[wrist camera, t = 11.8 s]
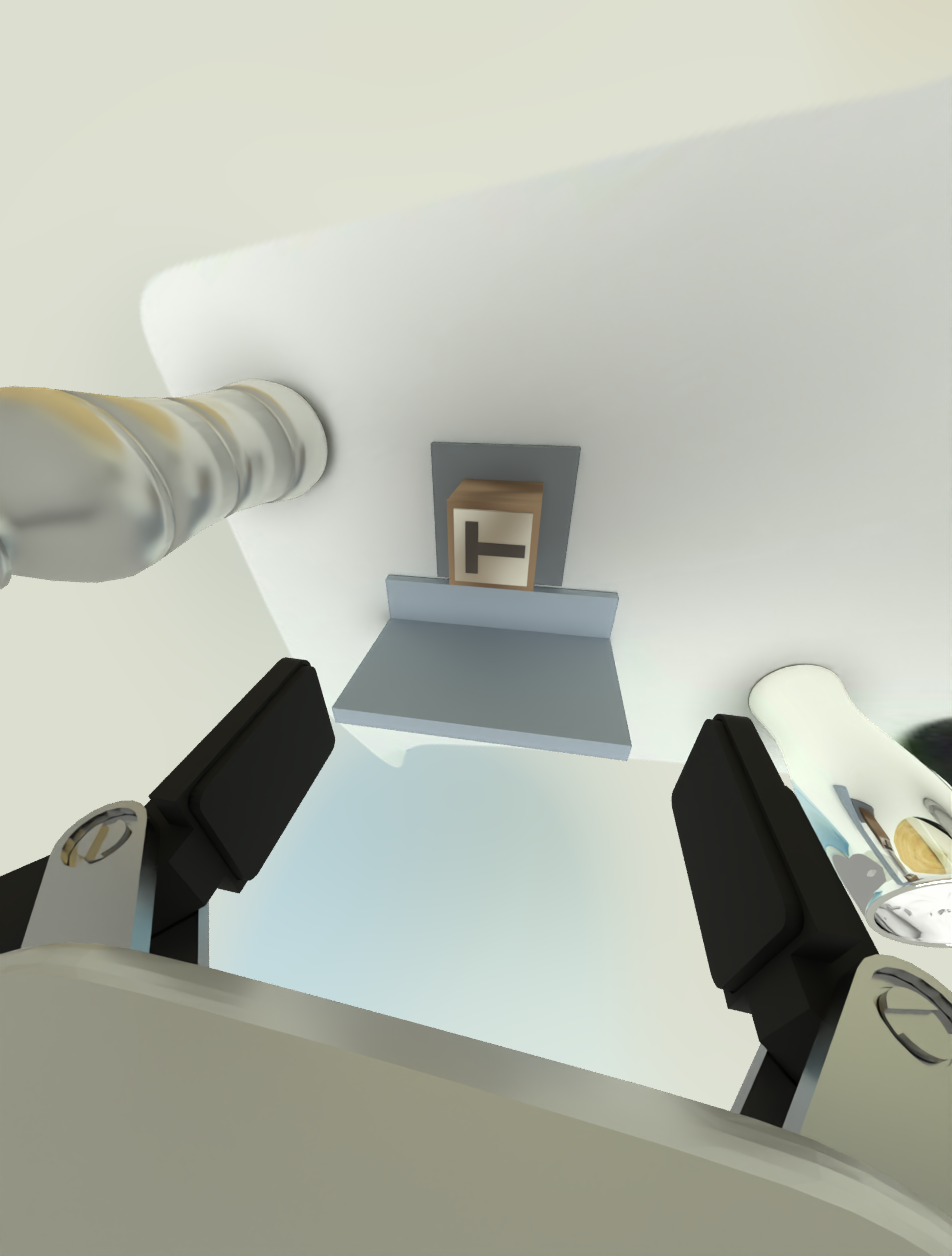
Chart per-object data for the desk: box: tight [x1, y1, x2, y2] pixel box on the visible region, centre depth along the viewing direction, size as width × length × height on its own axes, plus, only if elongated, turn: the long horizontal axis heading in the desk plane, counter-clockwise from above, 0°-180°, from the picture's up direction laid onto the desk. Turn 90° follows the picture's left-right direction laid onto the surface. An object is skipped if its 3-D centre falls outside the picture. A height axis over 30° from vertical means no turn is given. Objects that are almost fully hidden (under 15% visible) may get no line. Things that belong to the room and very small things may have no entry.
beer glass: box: [749, 665, 952, 948], centre depth 25 cm, size 7×7×15 cm
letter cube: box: [447, 479, 544, 592], centre depth 24 cm, size 5×5×5 cm
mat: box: [431, 442, 581, 586], centre depth 27 cm, size 9×9×1 cm
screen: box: [332, 575, 632, 761], centre depth 26 cm, size 17×5×11 cm, turn 89°
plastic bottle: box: [0, 379, 328, 589], centre depth 18 cm, size 6×7×20 cm
